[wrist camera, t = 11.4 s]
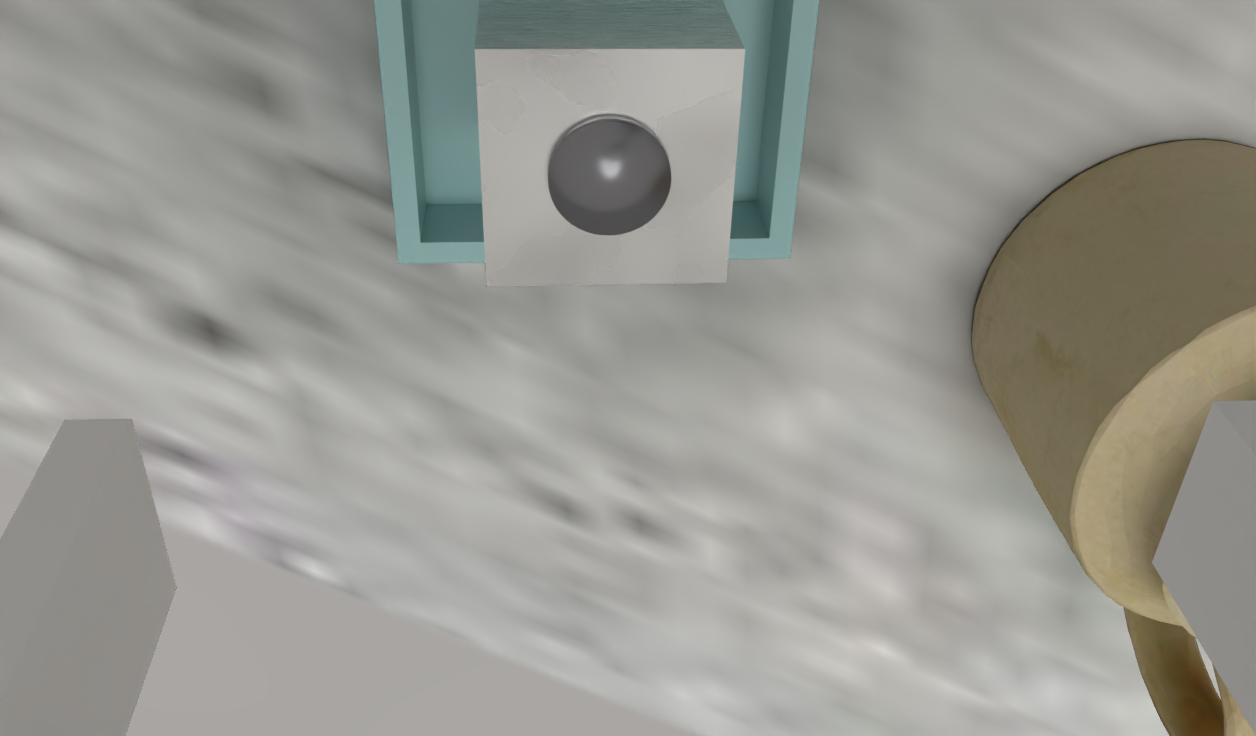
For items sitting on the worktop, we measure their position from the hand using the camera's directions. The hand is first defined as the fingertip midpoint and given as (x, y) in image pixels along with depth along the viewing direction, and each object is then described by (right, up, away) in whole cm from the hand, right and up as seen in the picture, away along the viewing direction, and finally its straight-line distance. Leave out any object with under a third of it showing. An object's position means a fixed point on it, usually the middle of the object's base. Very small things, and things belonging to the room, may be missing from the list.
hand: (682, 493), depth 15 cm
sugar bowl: (+16, +2, +23) cm, 28 cm away
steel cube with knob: (-2, +10, +15) cm, 18 cm away
